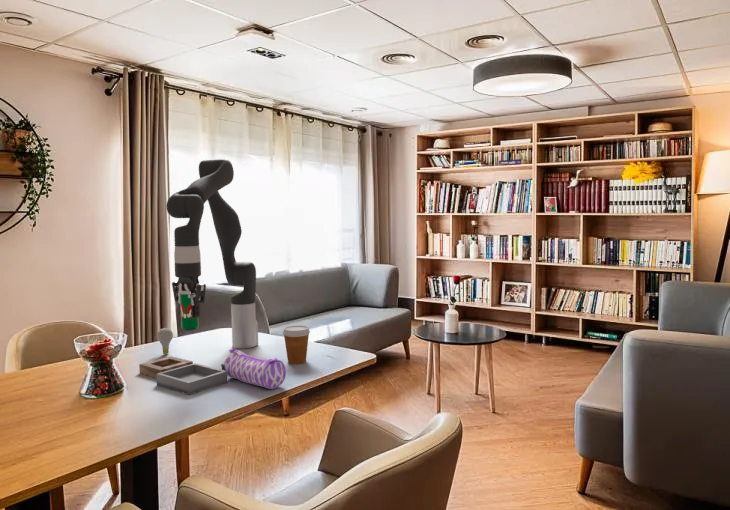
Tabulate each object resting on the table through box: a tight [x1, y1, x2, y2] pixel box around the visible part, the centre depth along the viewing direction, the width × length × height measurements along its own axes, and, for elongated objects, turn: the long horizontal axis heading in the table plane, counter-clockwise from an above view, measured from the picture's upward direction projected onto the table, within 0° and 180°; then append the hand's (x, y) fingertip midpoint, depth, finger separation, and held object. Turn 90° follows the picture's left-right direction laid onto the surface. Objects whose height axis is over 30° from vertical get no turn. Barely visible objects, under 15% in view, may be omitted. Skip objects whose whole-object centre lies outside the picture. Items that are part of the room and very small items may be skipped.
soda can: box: [179, 290, 200, 331], centre depth 163 cm, size 5×5×12 cm
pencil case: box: [220, 347, 287, 390], centre depth 165 cm, size 22×9×10 cm, turn 50°
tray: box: [156, 362, 229, 396], centre depth 165 cm, size 14×16×4 cm
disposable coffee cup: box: [282, 325, 311, 365], centre depth 187 cm, size 10×10×12 cm
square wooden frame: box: [138, 355, 194, 379], centre depth 178 cm, size 12×12×3 cm
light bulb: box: [156, 327, 174, 356], centre depth 200 cm, size 6×6×10 cm
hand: (189, 316), depth 163 cm, fingers closed on soda can, 5 cm apart
